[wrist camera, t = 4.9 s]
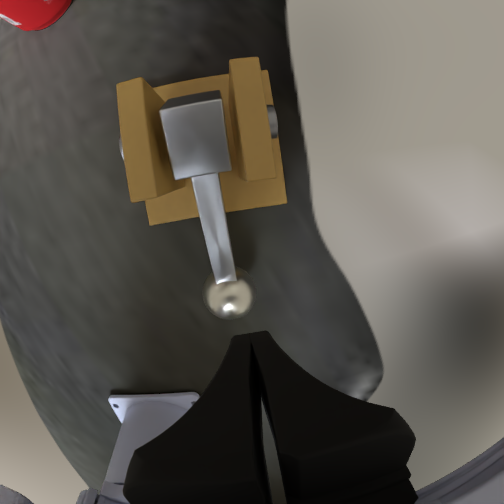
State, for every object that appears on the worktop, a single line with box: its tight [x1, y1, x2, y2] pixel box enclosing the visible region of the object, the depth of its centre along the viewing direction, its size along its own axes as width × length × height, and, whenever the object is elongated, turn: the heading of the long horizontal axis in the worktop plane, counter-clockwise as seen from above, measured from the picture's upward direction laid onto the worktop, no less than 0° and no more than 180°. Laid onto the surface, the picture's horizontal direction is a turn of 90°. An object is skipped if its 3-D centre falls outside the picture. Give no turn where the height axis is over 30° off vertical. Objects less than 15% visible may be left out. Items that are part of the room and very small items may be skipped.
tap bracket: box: [116, 57, 287, 225], centre depth 13 cm, size 8×8×8 cm
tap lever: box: [159, 90, 257, 320], centre depth 13 cm, size 12×3×3 cm, turn 7°
